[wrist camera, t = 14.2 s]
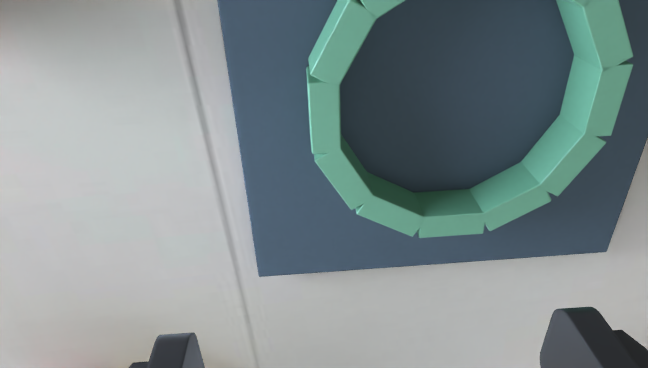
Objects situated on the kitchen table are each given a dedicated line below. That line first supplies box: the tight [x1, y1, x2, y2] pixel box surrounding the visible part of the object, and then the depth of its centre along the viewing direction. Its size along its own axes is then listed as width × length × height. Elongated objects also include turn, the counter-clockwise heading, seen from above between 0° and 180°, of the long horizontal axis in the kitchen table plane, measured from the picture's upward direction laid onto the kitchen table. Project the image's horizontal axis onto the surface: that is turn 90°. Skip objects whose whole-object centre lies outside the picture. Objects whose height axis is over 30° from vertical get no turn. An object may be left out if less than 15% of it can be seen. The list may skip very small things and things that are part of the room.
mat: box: [218, 0, 648, 277], centre depth 24 cm, size 22×22×1 cm
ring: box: [306, 0, 633, 238], centre depth 22 cm, size 14×14×2 cm
